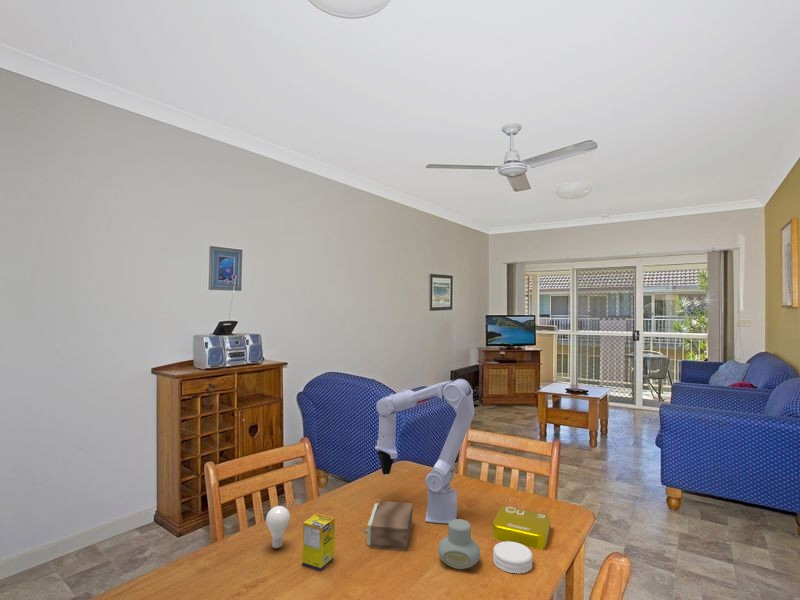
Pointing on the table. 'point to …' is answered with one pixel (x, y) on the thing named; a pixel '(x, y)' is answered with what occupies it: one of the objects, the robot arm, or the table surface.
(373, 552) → the table surface
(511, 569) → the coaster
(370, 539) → the cabinet door
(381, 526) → the walnut cabinet
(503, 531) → the element tile
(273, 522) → the lightbulb
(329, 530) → the supplement box
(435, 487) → the robot arm
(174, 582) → the table surface
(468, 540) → the air freshener
